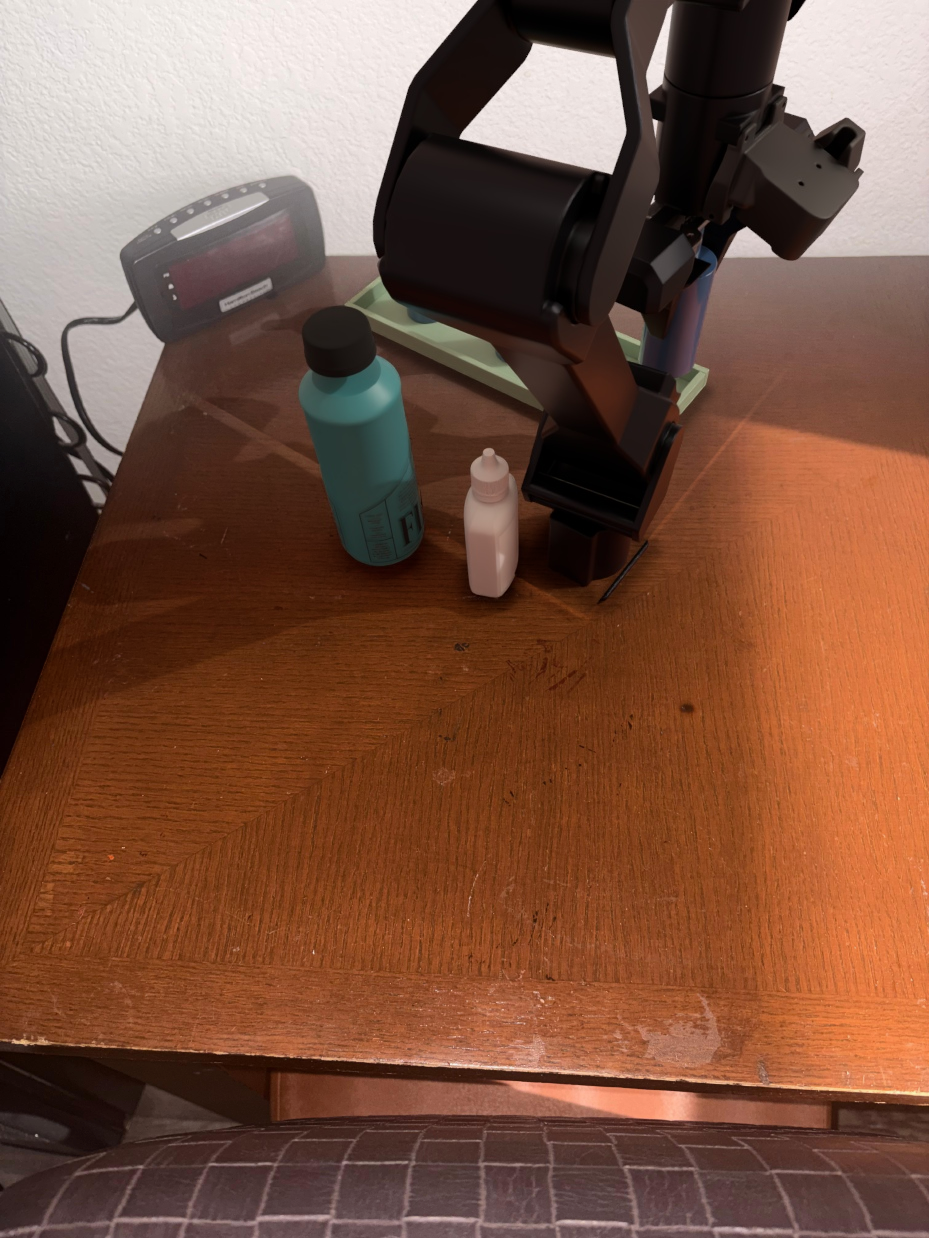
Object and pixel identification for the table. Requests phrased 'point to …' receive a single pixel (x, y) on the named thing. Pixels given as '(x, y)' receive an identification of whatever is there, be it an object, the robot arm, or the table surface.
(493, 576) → the eye dropper bottle
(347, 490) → the beverage bottle
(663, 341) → the blue bottle front
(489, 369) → the tray
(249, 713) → the table surface
